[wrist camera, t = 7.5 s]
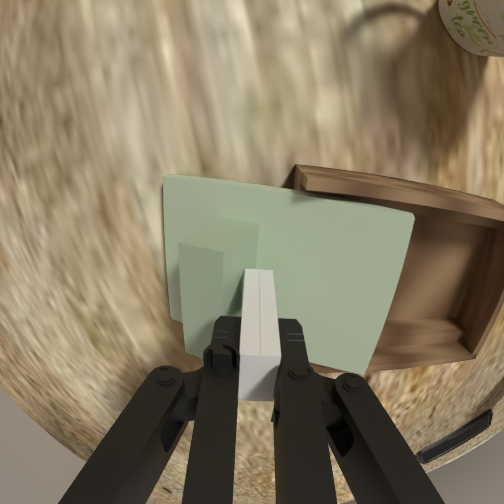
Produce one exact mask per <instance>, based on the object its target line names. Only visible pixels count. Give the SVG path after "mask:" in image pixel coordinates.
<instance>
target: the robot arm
mask: <svg viewBox="0 0 504 504" xmlns="http://www.w3.org/2000/svg"><path fill="white" fill-rule="evenodd" d="M203 361H204V366H203V367H202V368H201V369H199V370H196V371H193V372H187V373H182V372H181V371H180V370H179V369H177V368H175V367H172V366H160V367H158V368H155V369H154V370H153V371H152V372H150V374H149V375H148V376H147V378H146V379H145V381H144V382H143V383H142V385H141V386H140V388H139V389H138V390H137V392H136V393H135V395H134V396H133V397H132V399H131V400H130V402H129V403H128V404H127V406H126V407H125V409H124V410H123V411H122V413H121V414H120V416H119V417H118V418H117V420H116V421H115V423H114V424H113V426H112V427H111V428H110V430H109V431H108V433H107V434H106V435H105V437H104V438H103V440H102V441H101V443H100V444H99V445H98V447H97V448H96V450H95V451H94V453H93V454H92V455H91V457H90V458H89V460H88V461H87V463H86V464H85V465H84V467H83V468H82V470H81V471H80V473H79V474H78V475H77V477H76V479H75V480H74V481H73V483H72V484H71V486H70V487H69V488H68V490H67V491H66V493H65V494H64V496H63V497H62V499H61V500H60V502H59V503H58V504H146V502H147V500H148V498H149V496H150V494H151V493H152V491H153V489H154V487H155V485H156V483H157V481H158V480H159V478H160V476H161V474H162V472H163V470H164V468H165V466H166V465H167V463H168V461H169V459H170V457H171V455H172V453H173V451H174V449H175V447H176V446H177V444H178V442H179V440H180V438H181V436H182V434H183V432H184V430H185V428H186V426H187V424H188V422H189V421H193V420H195V422H194V428H193V434H192V440H191V446H190V452H189V459H188V465H187V471H186V478H185V485H184V491H183V498H182V504H233V484H234V465H235V446H236V427H237V409H238V400H248V401H273V398H274V409H273V414H272V418H271V422H273V428H274V456H275V486H276V504H337V498H336V491H335V485H334V478H333V471H332V465H331V459H330V453H329V447H328V444H329V446H330V448H331V450H332V452H333V454H334V456H335V459H336V461H337V463H338V465H339V467H340V469H341V471H342V473H343V475H344V477H345V479H346V481H347V483H348V486H349V488H350V490H351V492H352V494H353V496H354V498H355V500H356V502H357V504H445V503H444V501H443V500H442V498H441V497H440V495H439V493H438V492H437V490H436V489H435V487H434V485H433V484H432V482H431V480H430V479H429V477H428V476H427V474H426V473H425V471H424V469H423V468H422V466H421V465H420V463H419V461H418V460H417V458H416V457H415V455H414V454H413V452H412V450H411V449H410V447H409V446H408V444H407V443H406V441H405V440H404V438H403V436H402V435H401V433H400V432H399V430H398V429H397V427H396V426H395V424H394V423H393V421H392V420H391V418H390V416H389V415H388V413H387V412H386V410H385V409H384V407H383V406H382V404H381V403H380V401H379V400H378V398H377V397H376V395H375V394H374V392H373V391H372V389H371V388H370V386H369V385H368V383H367V382H366V380H365V379H364V378H363V377H361V376H359V375H357V374H354V373H344V374H341V375H339V376H338V377H337V378H336V379H332V378H328V377H324V376H321V375H319V374H317V373H316V372H315V371H314V369H313V368H312V367H311V366H310V364H309V360H308V355H307V350H306V344H305V339H304V335H303V329H302V325H301V324H300V323H299V322H298V320H297V319H287V318H278V317H277V306H276V296H275V286H274V277H273V270H260V269H245V278H244V292H243V307H242V317H235V316H221V315H220V317H219V318H218V319H217V320H216V321H215V323H214V328H213V334H212V339H211V344H210V345H209V346H208V347H206V348H205V350H204V352H203Z"/></svg>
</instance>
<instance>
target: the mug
mask: <svg viewBox="0 0 504 504" xmlns="http://www.w3.org/2000/svg"><path fill="white" fill-rule="evenodd" d="M438 7H439V13H440V17H441V20H442V22H443V24H444V26H445V28H446V30H447V31H448V33H449V34H450V36H451V37H452V38H453V39H454V40H455V42H456V43H457V44H458V45H460V46H461V47H462V48H463V49H465V50H466V51H468V52H470V53H472V54H475V55H479V56H494V57H504V0H439V4H438Z"/></svg>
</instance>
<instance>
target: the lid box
mask: <svg viewBox="0 0 504 504" xmlns="http://www.w3.org/2000/svg"><path fill="white" fill-rule="evenodd" d="M293 190H298V191H304V192H310V193H316V194H321V195H327V196H333V197H338V198H343V199H348V200H354V201H359V202H364V203H368V204H373V205H378V206H383V207H387V208H392V209H396V210H401V211H405V212H409V213H413V215H414V217H415V220H414V224H413V229H412V233H411V237H410V241H409V245H408V249H407V253H406V256H405V260H404V264H403V267H402V271H401V274H400V278H399V281H398V284H397V287H396V291H395V294H394V297H393V300H392V303H391V306H390V309H389V312H388V315H387V318H386V321H385V323H384V326H383V329H382V332H381V334H380V337H379V340H378V342H377V345H376V347H375V350H374V352H373V355H372V357H371V360H370V362H369V365H368V367H367V369H366V371H380V370H393V369H404V368H414V367H423V366H431V365H439V364H446V363H453V362H459V361H465V360H471V359H475V358H476V356H477V355H478V353H479V351H480V349H481V347H482V346H483V344H484V342H485V340H486V338H487V336H488V334H489V332H490V330H491V328H492V326H493V324H494V322H495V320H496V318H497V316H498V314H499V312H500V310H501V307H502V305H503V303H504V205H503V204H501V203H499V202H497V201H495V200H491V199H488V198H484V197H480V196H476V195H472V194H468V193H464V192H460V191H456V190H451V189H447V188H442V187H438V186H433V185H428V184H424V183H419V182H414V181H408V180H403V179H398V178H392V177H386V176H380V175H374V174H368V173H361V172H354V171H347V170H340V169H332V168H324V167H316V166H307V165H297V164H295V171H294V180H293ZM309 364H310V366H311V367H312V368H313V369H314V371H315V372H316V373H337V372H348V371H343V370H339V369H335V368H331V367H327V366H322V365H318V364H314V363H311V362H309Z"/></svg>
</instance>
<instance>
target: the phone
mask: <svg viewBox="0 0 504 504" xmlns="http://www.w3.org/2000/svg"><path fill="white" fill-rule="evenodd" d="M492 415H493V412H492V410H491V409H489V410H487V411H486V412H484V413H483V414H481V415H480V416H478V417H477V418H475V419H474V420H472V421H471V422H469V423H468V424H466V425H464V426H463V427H461V428H459V429H458V430H456V431H454V432H453V433H451V434H449V435H448V436H446V437H444V438H442V439H440V440H439V441H437V442H435V443H433V444H431V445H429V446H427V447H425V448H423V449H421V450H420V451H419V452H418V455H419V458H420V460H421V462H422V464H426V463H428V462H430V461H432V460H434V459H436V458H438V457H440V456H442V455H444V454H446V453H448V452H449V451H451V450H453V449H455V448H457V447H458V446H460V445H462V444H463V443H465V442H467V441H468V440H470V439H472V438H473V437H475V436H476V435H478V434H479V433H481V432H483V431H484V430H486V429H487V428H488V427H489V426H490V425H491V421H492Z"/></svg>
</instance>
